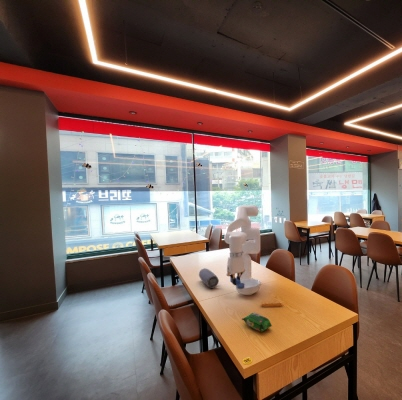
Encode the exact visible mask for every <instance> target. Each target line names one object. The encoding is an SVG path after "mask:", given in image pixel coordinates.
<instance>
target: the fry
mask: <svg viewBox="0 0 402 400" xmlns="http://www.w3.org/2000/svg"><path fill="white" fill-rule="evenodd" d="M267 307H268V308H271V307H272V308H273V307H282V301H262V302H261V308H267Z"/></svg>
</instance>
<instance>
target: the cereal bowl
mask: <svg viewBox="0 0 402 400" xmlns="http://www.w3.org/2000/svg"><path fill="white" fill-rule="evenodd" d="M240 281H241V283H244V288H243V289H238V288H237V286H236V285H235V289H236V291H237V293H239V294H241V295H243V296H252V295H253V294H255V293H257V292H258V291H259V290H260V288H261V281H260V280H259V279H255V278H253V279H244V280H240Z"/></svg>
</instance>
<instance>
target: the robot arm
mask: <svg viewBox="0 0 402 400" xmlns="http://www.w3.org/2000/svg"><path fill="white" fill-rule="evenodd" d="M235 210H236V213H235V216H234V217H235V218H234V220H232V221H231V222H230V223H229V224H228V225H227V226H226V228H225V232H224V240H223V241H224V243H226V244H228V245H229V256H228V257H227V262H226V276H227V277H229V278H230V277H231V278H232V282H231V284H232V285H233V286H236V279H235V278H237V279H238V280H244V279H254V278H253V277H252V258H251V257H252V256H250V254H251V255H253V254H254V255H255V254H259V253H261V230H260V228H259V227H252V221H251V219H250V218H249V217H258V216H259V211H260V210H259V206H257V205H256V204H241V205H238V206H237V207H236V209H235ZM238 229H239V231H236V230H238ZM252 240H253V241H252Z"/></svg>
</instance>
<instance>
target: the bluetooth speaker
mask: <svg viewBox="0 0 402 400" xmlns="http://www.w3.org/2000/svg"><path fill="white" fill-rule="evenodd" d="M198 277H199V278H200V280H201V281H202V283H203V284H204V285H205V286H207V287H208V288H216V287H218V285H219V278H218V276H217V275H216V274H215V273H214V272H213V271H211V270H210V269H208V268H206V267H205V268H201V270H200V271H199V272H198Z"/></svg>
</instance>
